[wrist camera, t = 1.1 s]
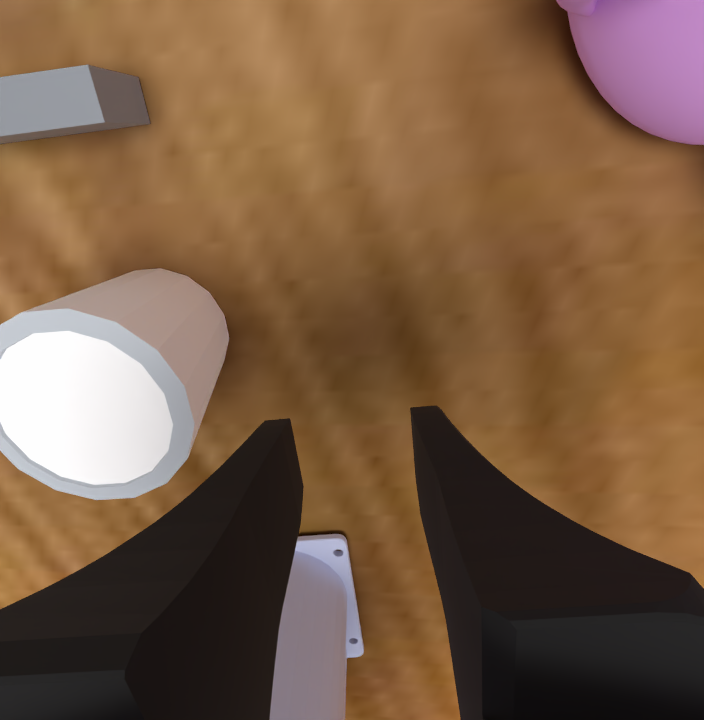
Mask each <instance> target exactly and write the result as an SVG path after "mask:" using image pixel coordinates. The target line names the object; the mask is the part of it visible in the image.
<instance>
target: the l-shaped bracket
mask: <svg viewBox="0 0 704 720" xmlns="http://www.w3.org/2000/svg"><path fill="white" fill-rule="evenodd" d="M147 124H150V120H149V116H148V112H147V108H146V105H145V101H144V97H143V93H142V89H141V85H140V81H139V78H138V77H136V76H132V75H128V74H124V73H119V72H115V71H111V70H107V69H103V68H99V67H95V66H91V65H83V66H76V67H69V68H62V69H55V70H48V71H41V72H34V73H27V74H20V75H13V76H6V77H0V144H4V143H12V142H19V141H27V140H34V139H42V138H49V137H57V136H65V135H72V134H80V133H87V132H95V131H102V130H110V129H117V128H125V127H132V126H140V125H147Z"/></svg>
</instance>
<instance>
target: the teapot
mask: <svg viewBox="0 0 704 720" xmlns="http://www.w3.org/2000/svg"><path fill="white" fill-rule="evenodd" d="M556 1H557V3H558V4H559V5H560V7H561V8H563V9H565V10H566V11H567V12H568V18H569V24H570V29H571V33H572V36H573V39H574V43H575V46H576V49H577V52H578V55H579V57H580V59H581V61H582V64H583V66H584V68H585V70H586V72H587V74H588V76H589V77H590V79H591V80H592V82H593V83H594V85H595V87H596V88H597V90H598V91H599V93H600V94H601V96H602V97H603V98H604V99H605V100H606V101H607V102H608V103H609V104H610V105H611V106H612V108H613V109H614V110H615V111H616V112H618V113H619V114H620V115H621V116H623V117H624V118H625V119H626V120H628V121H629V122H630V123H632V124H633V125H635V126H637V127H639V128H640V129H642V130H644V131H646V132H648V133H650V134H652V135H655V136H658V137H661V138H664V139H666V140H669V141H674V142H680V143H685V144H691V145H704V0H556Z"/></svg>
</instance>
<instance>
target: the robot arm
mask: <svg viewBox="0 0 704 720" xmlns="http://www.w3.org/2000/svg"><path fill="white" fill-rule="evenodd" d="M410 410H411V423H412V436H413V449H414V462H415V475H416V484H417V491H418V499H419V506H420V514H421V518H422V523H423V527H424V531H425V535H426V539H427V543H428V547H429V551H430V555H431V559H432V563H433V567H434V571H435V575H436V579H437V583H438V587H439V591H440V595H441V599H442V603H443V608H444V613H445V618H446V624H447V630H448V637H449V643H450V650H451V656H452V663H453V670H454V676H455V683H456V690H457V696H458V703H459V710H460V717H461V720H704V589H703V587H702V586H701V585H700V584H699V583H698V582H697V581H696V579H695V578H694V577H693V576H692V575H691V574H690V573H688V572H686V571H683V570H681V569H678V568H676V567H673V566H671V565H668V564H666V563H663V562H661V561H658V560H656V559H653V558H651V557H648V556H646V555H643V554H641V553H638V552H636V551H633V550H631V549H629V548H626V547H624V546H622V545H620V544H618V543H616V542H614V541H612V540H610V539H607V538H605V537H603V536H601V535H599V534H597V533H595V532H593V531H591V530H589V529H587V528H585V527H583V526H582V525H580V524H578V523H576V522H574V521H572V520H571V519H569V518H567V517H565V516H564V515H562V514H560V513H559V512H557V511H555V510H554V509H552V508H550V507H549V506H547V505H545V504H544V503H542V502H541V501H539V500H538V499H536V498H534V497H533V496H532V495H530V494H529V493H527V492H526V491H525V490H523V489H522V488H520V487H519V486H518V485H516V484H515V483H514V482H512V481H511V480H510V479H509V478H507V477H506V476H505V475H504V474H502V473H501V472H500V471H499V470H498V469H497V468H496V467H494V466H493V465H492V464H491V463H490V462H489V461H488V460H487V459H486V458H485V457H483V456H482V455H481V454H480V453H479V452H478V451H477V450H476V449H475V448H474V447H473V446H472V445H471V444H470V443H469V442H468V441H467V440H466V439H465V437H464V436H463V435H462V434H461V433H460V432H459V431H458V430H457V429H456V427H455V426H454V425H453V424H452V423H451V422H450V420H449V419H448V418H447V417H446V415H445V414H444V413H443V411H442V410H441V409H440V408H439V407H438V406H425V407H413V408H410ZM302 500H303V482H302V477H301V472H300V466H299V461H298V456H297V451H296V446H295V441H294V436H293V431H292V426H291V421H290V419H279V420H267V421H264V422H263V423H262V424H261V425H260V426H259V427H258V428H257V429H256V430H255V431H254V433H253V434H252V435H251V436H250V437H249V438H248V439H247V440H246V441H245V442H244V443H243V444H242V445H241V446H240V447H239V448H238V449H237V450H236V451H235V452H234V453H233V454H232V455H231V457H230V458H229V459H228V460H227V461H226V462H225V463H224V464H223V465H222V466H221V467H220V468H219V469H218V470H216V471H215V472H214V473H213V474H212V475H211V476H210V477H209V478H208V479H207V480H206V481H204V482H203V483H202V484H201V485H200V486H199V487H198V488H197V489H196V490H195V491H194V492H192V493H191V494H190V495H189V496H188V497H187V498H185V499H184V500H183V501H182V502H181V503H179V504H178V505H177V506H176V507H174V508H173V509H172V510H170V511H169V512H168V513H167V514H165V515H164V516H163V517H161V518H160V519H159V520H157V521H156V522H155V523H153V524H152V525H150V526H149V527H148V528H146V529H145V530H143V531H142V532H140V533H138V534H137V535H135V536H134V537H132V538H131V539H129V540H128V541H126V542H125V543H123V544H122V545H120V546H119V547H117V548H116V549H114V550H113V551H111V552H109V553H108V554H106V555H105V556H103V557H101V558H99V559H98V560H96V561H94V562H93V563H91V564H89V565H87V566H86V567H84V568H82V569H80V570H78V571H77V572H75V573H73V574H71V575H69V576H67V577H66V578H64V579H62V580H60V581H58V582H56V583H54V584H52V585H50V586H48V587H46V588H45V589H43V590H40V591H38V592H36V593H34V594H32V595H30V596H28V597H26V598H24V599H21V600H19V601H17V602H15V603H13V604H11V605H9V606H7V607H5V608H2V609H0V720H345V704H346V672H347V658H351V657H359V656H361V655H362V654H363V653H364V645H363V639H362V632H361V626H360V620H359V614H358V607H357V601H356V595H355V589H354V582H353V576H352V570H351V564H350V557H349V551H348V545H347V540H346V538H345V537H344V536H343V535H341V534H327V535H313V536H299V537H298V534H299V529H300V524H301V513H302ZM337 549H339V550H341V551H336V550H337Z"/></svg>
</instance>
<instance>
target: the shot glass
mask: <svg viewBox="0 0 704 720" xmlns="http://www.w3.org/2000/svg"><path fill="white" fill-rule="evenodd" d="M228 342H229V334H228V329H227V325H226V320H225V315H224V313H223V312H222V310H221V309H220V307H219V306H218V304H217V303H216V301H215V300H214V298H213V297H212V295H211V294H210V292H208V291H207V290H206V289H204V288H203V287H202V286H200V285H199V284H197V283H196V282H195V281H193V280H192V279H191V278H189V277H188V276H186V275H182V274H179V273H176V272H172V271H169V270H166V269H162V268H157V269H145V270H135V271H132V272H129V273H127V274H124V275H121V276H119V277H116V278H113V279H110V280H108V281H105V282H102V283H100V284H97V285H94V286H92V287H89V288H86V289H83V290H81V291H78V292H75V293H73V294H70V295H67V296H64V297H62V298H59V299H56V300H54V301H51V302H48V303H46V304H43V305H40V306H37V307H35V308H32V309H29V310H27V311H24V312H22V313H20V314H18V315H16V316H15V317H13V318H11V319H10V320H8V321H6V322H4V323H3V324H1V325H0V451H1V452H2V453H3V454H4V455H5V456H6V457H7V458H8V459H9V460H10V461H11V462H12V463H13V464H14V465H15V466H16V467H17V468H18V469H19V470H21V471H23V472H24V473H26V474H28V475H30V476H32V477H33V478H35V479H37V480H39V481H40V482H42V483H44V484H46V485H48V486H49V487H51V488H53V489H55V490H57V491H61V492H66V493H70V494H74V495H78V496H82V497H86V498H90V499H94V500H104V499H121V498H135V497H137V496H139V495H142V494H144V493H146V492H148V491H151V490H153V489H155V488H157V487H159V486H162V485H164V484H166V483H167V482H168V481H169V480H170V479H171V477H172V476H173V475H174V474H175V473H176V472H177V470H178V469H179V468H180V467H181V466H182V464H183V463H184V462H185V461H186V460H187V459H188V456H189V454H190V451H191V448H192V446H193V443H194V440H195V438H196V435H197V432H198V430H199V427H200V424H201V422H202V419H203V416H204V414H205V411H206V408H207V405H208V403H209V400H210V397H211V395H212V392H213V389H214V387H215V384H216V381H217V379H218V376H219V373H220V371H221V368H222V365H223V363H224V360H225V356H226V351H227V347H228Z"/></svg>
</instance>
